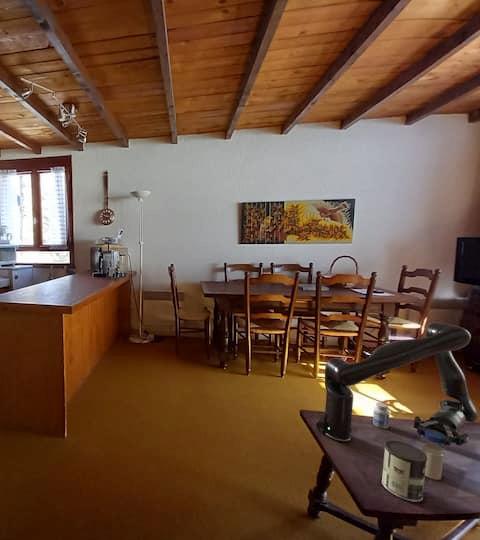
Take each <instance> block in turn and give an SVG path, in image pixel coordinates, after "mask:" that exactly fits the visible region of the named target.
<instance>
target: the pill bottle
mask: <svg viewBox="0 0 480 540" xmlns="http://www.w3.org/2000/svg"><path fill="white" fill-rule="evenodd" d="M388 409H389V407H388V405H387V404H386V403H383V402H376V403H375V406H374V408H373V416H372V424H373V426H375V427H378V428H380V429H388V428H389V425H390V411H389V410H388Z"/></svg>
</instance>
